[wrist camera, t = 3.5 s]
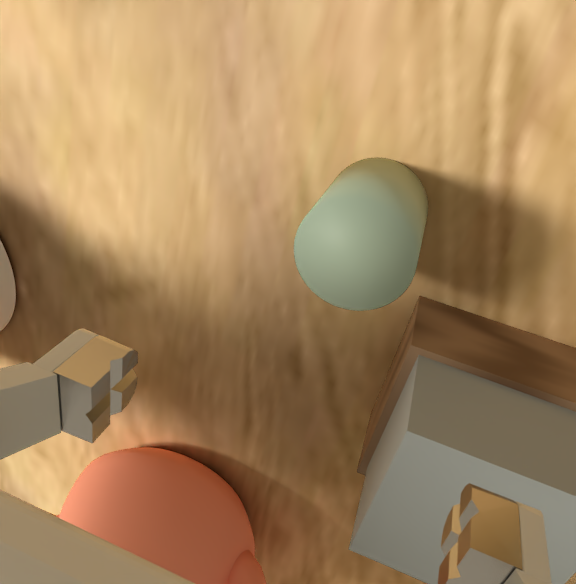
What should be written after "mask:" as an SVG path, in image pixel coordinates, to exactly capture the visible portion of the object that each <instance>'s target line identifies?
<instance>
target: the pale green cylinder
mask: <svg viewBox="0 0 576 584" xmlns="http://www.w3.org/2000/svg"><path fill="white" fill-rule="evenodd" d="M427 215H428V199H427V195H426V191H425V189H424V186H423V184H422V183H421V181H420V180H419V178H418V177H417V176H416V175H415V174H414V173H413V172H412V171H411V170H410V169H409V168H407V167H406V166H405V165H403V164H401V163H399V162H396V161H394V160H390V159H386V158H368V159H364V160H360V161H358V162H355V163H353V164H351V165H350V166H348V167H347V168H346V169H344V170H343V171H342V172H341V173H340V174H339V175H338V177H337V178H336V179H335V180H334V182H333V183H332V184H331V185H330V187H329V188H328V189H327V190H326V192H325V193H324V194H323V195H322V197H321V198H320V199H319V200H318V202H317V203H316V204H315V205H314V206H313V208H312V209H311V210H310V211H309V213H308V214H307V215H306V216H305V218H304V219H303V221H302V222H301V224H300V226H299V228H298V230H297V233H296V236H295V241H294V257H295V262H296V266H297V269H298V271H299V273H300V275H301V277H302V279H303V280H304V282H305V283H306V285H307V286H308V287H309V288H310V289H311V290H312V291H313V292H314V293H315V294H316V295H317V296H318V297H320V298H321V299H323V300H324V301H326V302H328V303H330V304H332V305H334V306H337V307H340V308H343V309H348V310H356V311H364V310H372V309H377V308H380V307H383V306H385V305H387V304H390V303H391V302H393V301H394V300H396V299H397V298H398V297H400V296H401V295H402V294H403V293H404V292H405V290H406V289H407V288H408V286H409V285H410V283H411V281H412V279H413V277H414V275H415V271H416V268H417V263H418V258H419V253H420V249H421V244H422V239H423V234H424V230H425V225H426V220H427Z"/></svg>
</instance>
